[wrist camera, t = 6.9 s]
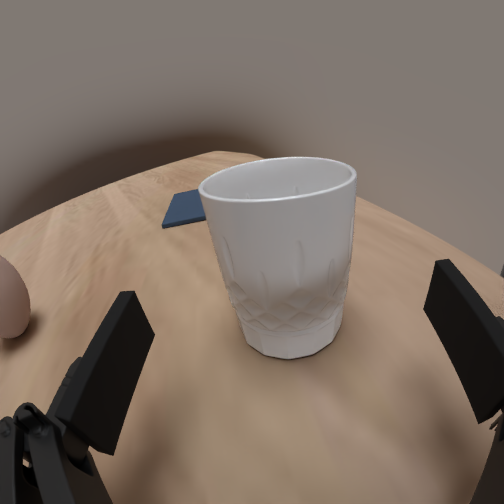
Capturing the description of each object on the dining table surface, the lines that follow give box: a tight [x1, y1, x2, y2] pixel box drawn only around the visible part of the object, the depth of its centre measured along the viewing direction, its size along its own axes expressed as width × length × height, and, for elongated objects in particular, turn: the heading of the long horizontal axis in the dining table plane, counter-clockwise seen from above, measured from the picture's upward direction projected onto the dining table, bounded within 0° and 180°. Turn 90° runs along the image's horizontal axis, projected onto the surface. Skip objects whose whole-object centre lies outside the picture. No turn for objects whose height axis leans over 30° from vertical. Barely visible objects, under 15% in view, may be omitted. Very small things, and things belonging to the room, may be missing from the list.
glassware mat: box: [162, 189, 206, 228], centre depth 43 cm, size 16×14×1 cm
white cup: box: [198, 157, 357, 359], centre depth 16 cm, size 8×8×10 cm
